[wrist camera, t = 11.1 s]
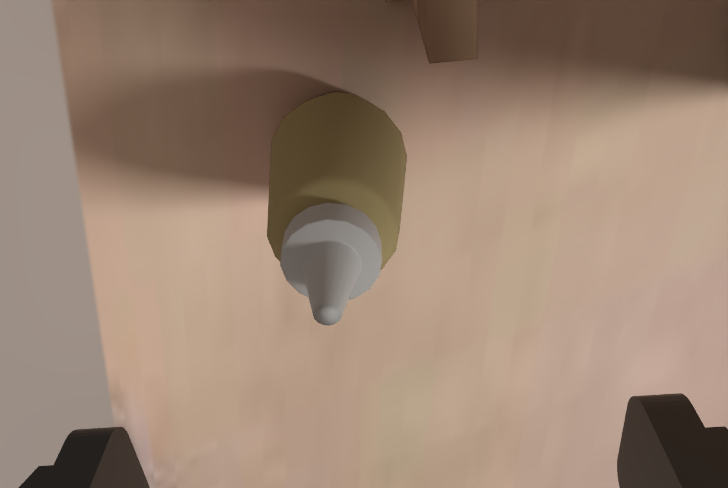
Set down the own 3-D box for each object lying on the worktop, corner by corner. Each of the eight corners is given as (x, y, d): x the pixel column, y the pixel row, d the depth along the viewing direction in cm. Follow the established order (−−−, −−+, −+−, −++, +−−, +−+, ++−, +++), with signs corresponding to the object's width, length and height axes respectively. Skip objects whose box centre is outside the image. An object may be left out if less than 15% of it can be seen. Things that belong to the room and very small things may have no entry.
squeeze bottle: (314, 209, 45) (290, 408, 30) (252, 107, 41) (187, 277, 26) (423, 161, 43) (456, 347, 28) (369, 50, 39) (373, 197, 24)
